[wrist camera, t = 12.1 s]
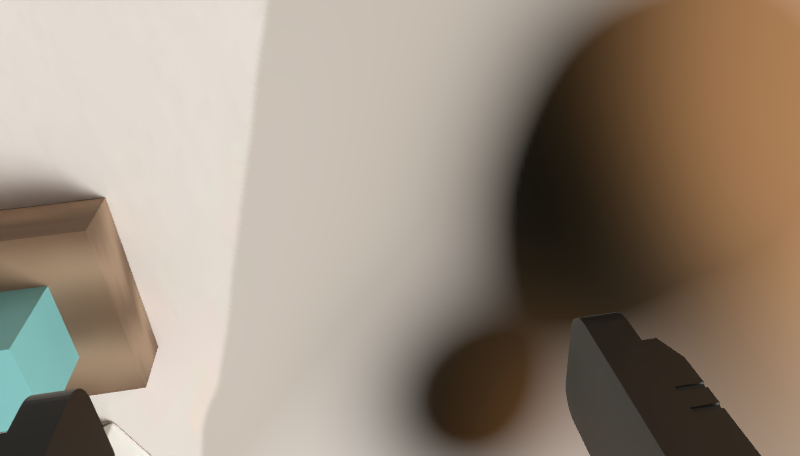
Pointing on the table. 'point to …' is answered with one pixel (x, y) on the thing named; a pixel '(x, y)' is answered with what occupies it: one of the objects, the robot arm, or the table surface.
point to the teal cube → (31, 349)
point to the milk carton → (122, 442)
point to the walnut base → (82, 288)
